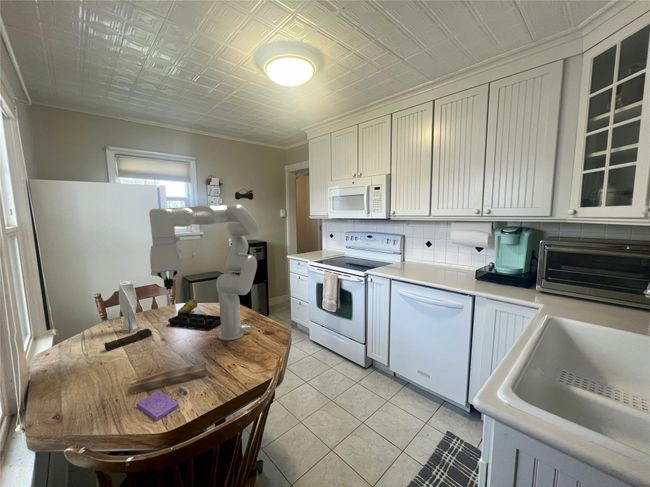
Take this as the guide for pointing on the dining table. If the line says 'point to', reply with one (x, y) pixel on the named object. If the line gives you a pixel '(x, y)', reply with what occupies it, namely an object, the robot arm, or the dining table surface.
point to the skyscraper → (128, 306)
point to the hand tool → (128, 339)
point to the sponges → (157, 405)
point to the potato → (188, 307)
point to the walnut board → (170, 378)
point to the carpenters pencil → (149, 377)
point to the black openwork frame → (195, 321)
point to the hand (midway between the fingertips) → (169, 288)
